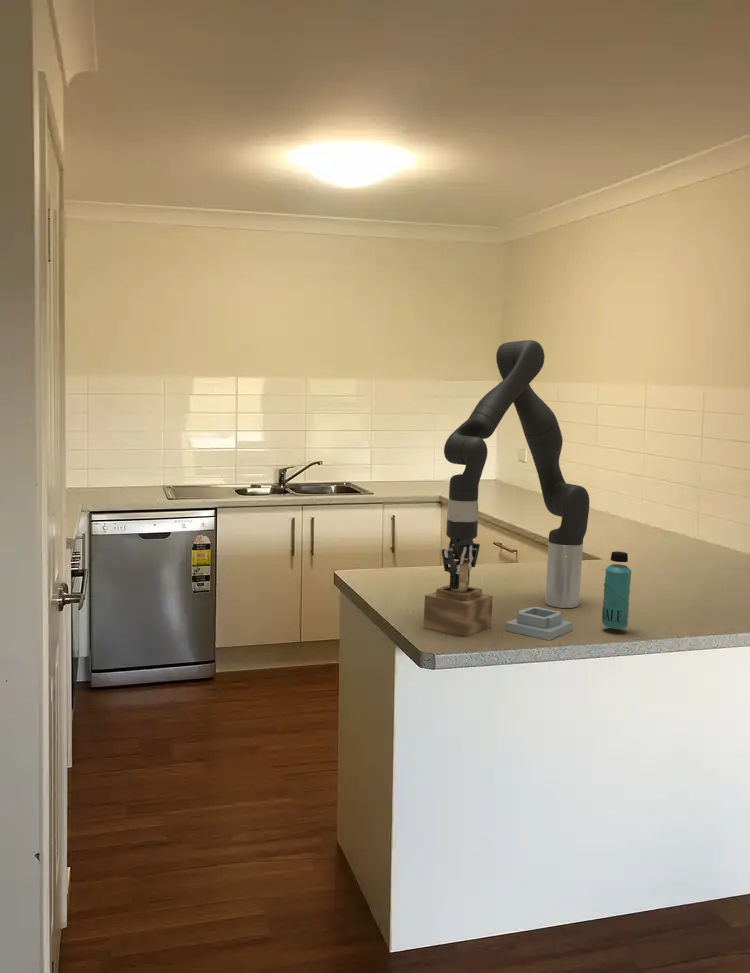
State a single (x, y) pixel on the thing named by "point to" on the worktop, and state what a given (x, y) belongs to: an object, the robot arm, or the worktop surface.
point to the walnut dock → (458, 611)
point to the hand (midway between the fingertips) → (459, 586)
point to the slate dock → (539, 623)
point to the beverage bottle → (616, 593)
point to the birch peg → (462, 579)
